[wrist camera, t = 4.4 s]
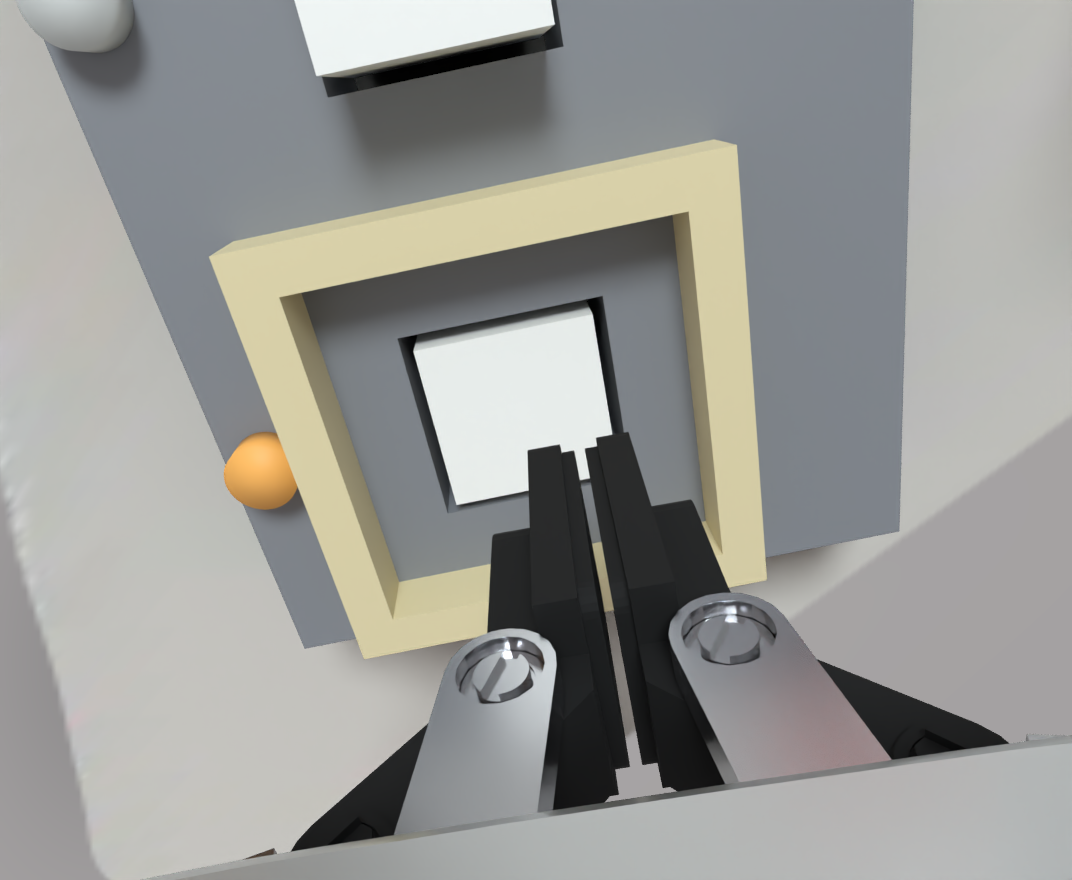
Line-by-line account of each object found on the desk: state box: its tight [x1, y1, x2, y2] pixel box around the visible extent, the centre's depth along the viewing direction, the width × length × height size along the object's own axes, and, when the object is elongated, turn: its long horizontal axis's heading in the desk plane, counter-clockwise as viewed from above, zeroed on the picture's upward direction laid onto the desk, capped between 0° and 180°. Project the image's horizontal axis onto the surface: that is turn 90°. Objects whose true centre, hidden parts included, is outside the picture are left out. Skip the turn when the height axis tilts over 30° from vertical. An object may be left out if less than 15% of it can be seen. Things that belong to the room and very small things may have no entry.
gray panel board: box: [16, 0, 914, 659], centre depth 17 cm, size 16×19×6 cm
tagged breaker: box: [413, 299, 612, 505], centre depth 19 cm, size 4×4×4 cm
